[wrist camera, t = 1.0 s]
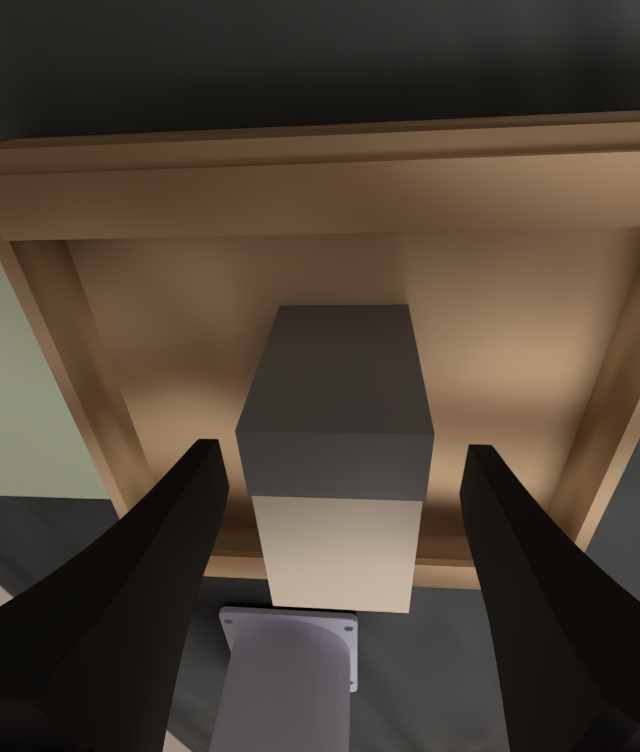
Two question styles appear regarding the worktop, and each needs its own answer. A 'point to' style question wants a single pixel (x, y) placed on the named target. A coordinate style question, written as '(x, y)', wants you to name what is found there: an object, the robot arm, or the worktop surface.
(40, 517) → the worktop surface
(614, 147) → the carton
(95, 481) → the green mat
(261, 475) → the box
